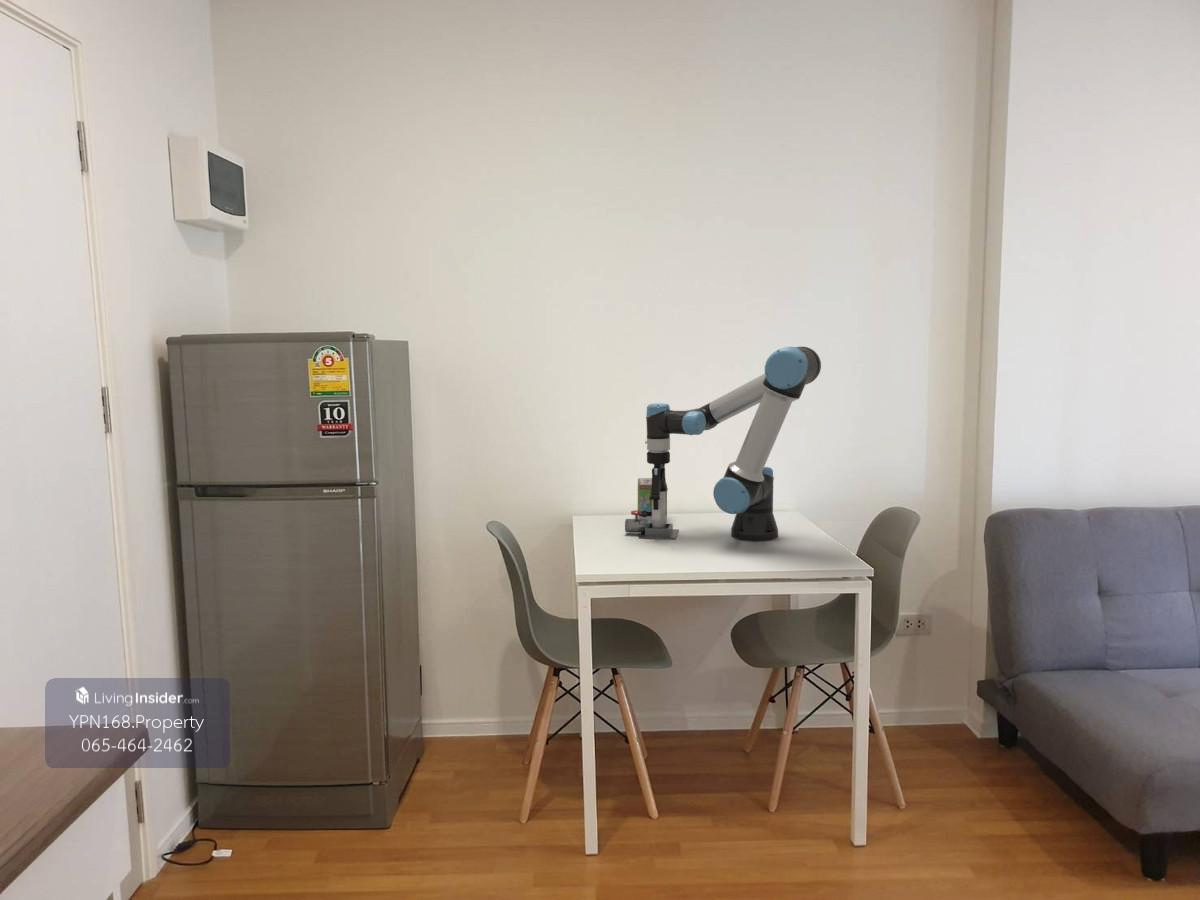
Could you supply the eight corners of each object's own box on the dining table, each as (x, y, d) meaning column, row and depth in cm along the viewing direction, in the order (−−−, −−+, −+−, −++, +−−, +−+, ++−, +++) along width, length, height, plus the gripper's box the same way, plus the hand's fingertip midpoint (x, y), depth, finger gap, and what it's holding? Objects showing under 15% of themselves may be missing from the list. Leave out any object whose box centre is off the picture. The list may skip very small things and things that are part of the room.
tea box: (667, 526, 295) (667, 484, 293) (638, 526, 295) (638, 484, 293) (665, 516, 310) (664, 476, 308) (637, 517, 310) (636, 477, 308)
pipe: (666, 531, 284) (666, 496, 282) (664, 535, 280) (664, 499, 278) (653, 531, 285) (652, 496, 283) (651, 534, 280) (650, 498, 279)
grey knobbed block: (679, 531, 287) (679, 508, 286) (675, 539, 275) (675, 516, 274) (629, 529, 290) (628, 507, 289) (623, 538, 279) (622, 515, 278)
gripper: (652, 445, 292) (652, 507, 294) (641, 456, 267) (642, 522, 270) (674, 446, 290) (674, 507, 293) (665, 456, 266) (665, 523, 269)
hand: (658, 515), depth 282 cm, fingers open, 13 cm apart
